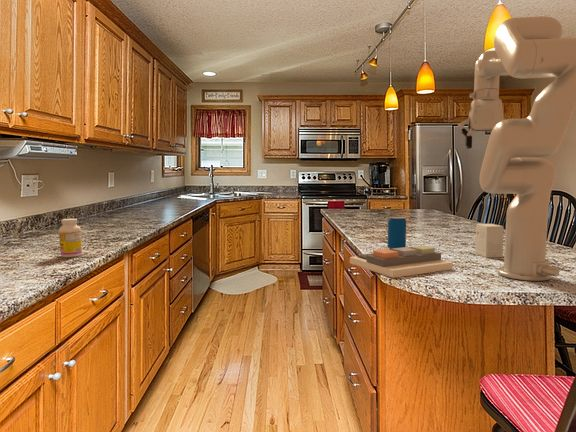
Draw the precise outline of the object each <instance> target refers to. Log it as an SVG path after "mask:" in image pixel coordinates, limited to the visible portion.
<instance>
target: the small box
mask: <svg viewBox="0 0 576 432" xmlns="http://www.w3.org/2000/svg"><path fill="white" fill-rule="evenodd" d="M475 226H476V227H475V254H476V255H479V256H482V257H484V258H486V259H487V258H488V259H489V258H503V257H504V253H503V251H504V230H505V229H504V228H505V227H504V225H499V224H496V223H495V224H494V223H476V225H475Z"/></svg>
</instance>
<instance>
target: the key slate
mask: <svg viewBox="0 0 576 432" xmlns="http://www.w3.org/2000/svg"><path fill="white" fill-rule="evenodd" d="M392 251H396V252H398V255H399V256H402V257H406V256H414V255H417V250H415V249H411V248H410V247H402V248H393V249H392Z"/></svg>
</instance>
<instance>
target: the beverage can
mask: <svg viewBox="0 0 576 432" xmlns="http://www.w3.org/2000/svg"><path fill="white" fill-rule="evenodd" d="M406 238H407V219H406V217H405V216H389V219H388V220H387V249H388V250H392V249H393V248H402V247H406V246H407V239H406ZM406 248H407V247H406Z"/></svg>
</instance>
